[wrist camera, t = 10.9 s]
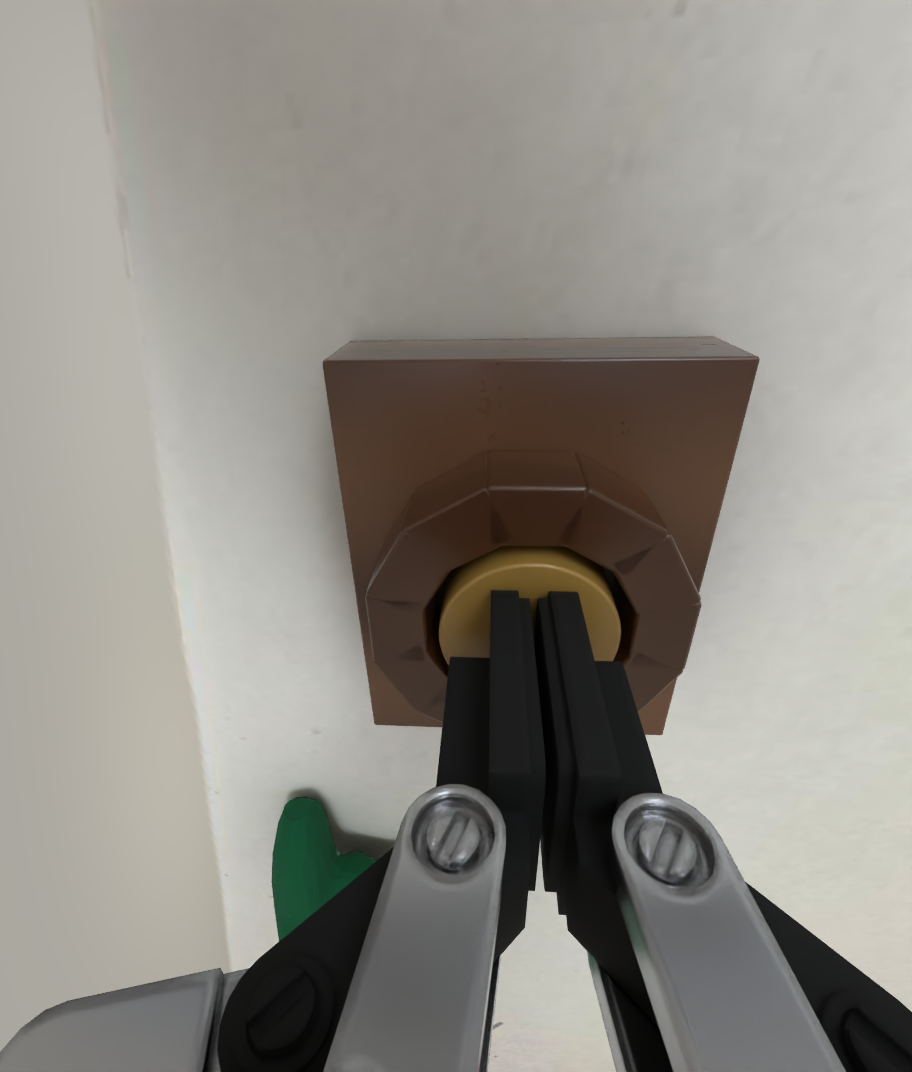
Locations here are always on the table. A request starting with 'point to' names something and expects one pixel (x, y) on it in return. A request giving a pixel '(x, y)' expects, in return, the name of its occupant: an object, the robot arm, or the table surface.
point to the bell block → (532, 486)
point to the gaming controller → (308, 864)
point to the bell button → (524, 596)
